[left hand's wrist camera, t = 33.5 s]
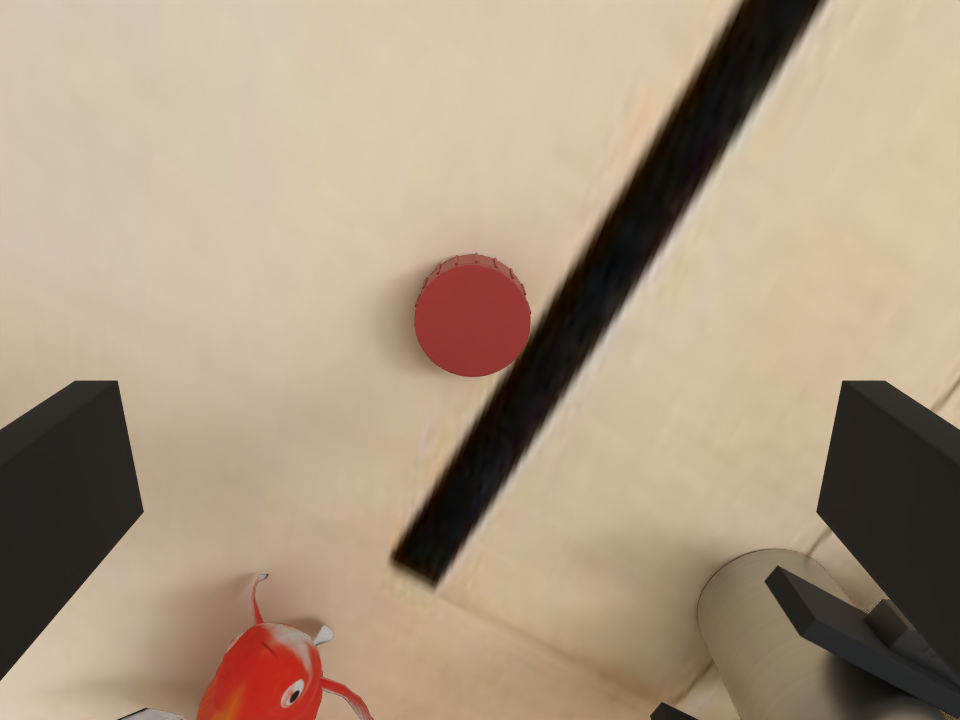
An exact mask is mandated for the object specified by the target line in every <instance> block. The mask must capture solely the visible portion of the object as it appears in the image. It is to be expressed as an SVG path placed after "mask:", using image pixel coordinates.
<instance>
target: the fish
mask: <svg viewBox="0 0 960 720" xmlns="http://www.w3.org/2000/svg"><path fill="white" fill-rule="evenodd" d="M268 575H269V574H262V575H258V577H257V580H256V582H255V585H254V587H253V593H252V615H253V619H254V622H255V626H253V627H251V628H250V629H248V630H247V631H245V632H243V633H241V634H240V635H238V636H236V637H235V638H234V639H233V640H232V641H231V642H230V644H229V645H228V646H227V648H226V651H225V655H224V660H223V661H222V663H221V665H220V666H219V668H218V670H217V673H216V676H215V677H214V678H213V680H212V681H211V683H210V685H209V687H208V689H207V691H206V693H205V695H204V697H203V699H202V701H201V703H200V706H199V710H198V715H197V720H315V718H316V715H317V712H318V709H319V706H320V703H321V699H322V690H323V691H326V692H329V693H332V694H337V695H339V696H342V697H343V698H344V699H345V700H347V702H348V703H349V704H350V705H351V707H352V708H353V710H354V711H355V712H356V714H357V715H358V716H359V718H360V719H361V720H374V719H373V718H372V717H371V716H370V713H369V711H368V708H367V706H366V704H365V703H364V702H363V700H362V699H361V698H360V697H359V696H358V695H356V694H355V693H353V692H352V691H351V690H349V689H348V688H347V687H346V686H345V685H343V684H340V683H338V682H335V681H333V680H330V679H327V678H325V677H323V671H322V665H321V659H320V654H319V650H318V648H317V647H316V645H319V644H321V643H324V642H328V641H330V640H331V639H332V638H333V636H334V633H333V632H332V631H331V630H330V629H329V628H328V627H327V626H326V625H325V626H323V627H322V629H321V630H320V631H319V633H318V634H317V635H316V636H315V638H314V639H313V640H312V638H311V637H310V636H309V635H308V634H306V633H304V632H302V631H300V630H298V629H296V628H294V627H291V626H288V625H284V624H281V623H277V624H276V623H266V622H263V620H262V618H261V615H260V613H259V609H258V606H257V603H256V600H255V591H256V585H257V583H258V582H259V581H262V580H264V579H266V578H267V576H268ZM118 720H187V719H186V718H185V717H183V716H181V715H177V714H173V713H169V712H166V711H160V710H155V709H150V708H144V709H142V710H140V711H137V712H135V713H132V714H130V715H127V716H125V717H123V718H120V719H118Z"/></svg>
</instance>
